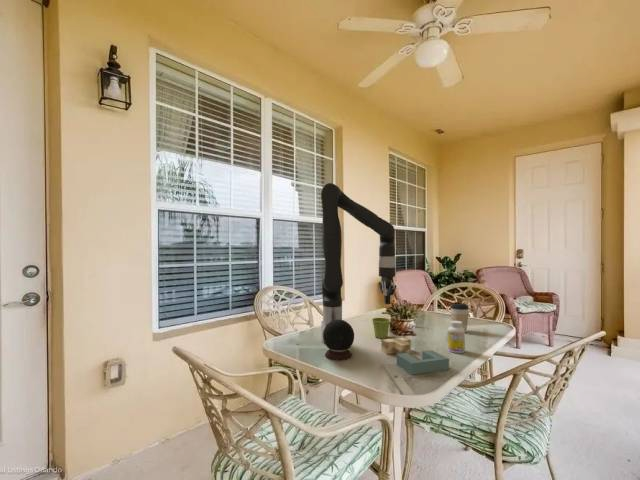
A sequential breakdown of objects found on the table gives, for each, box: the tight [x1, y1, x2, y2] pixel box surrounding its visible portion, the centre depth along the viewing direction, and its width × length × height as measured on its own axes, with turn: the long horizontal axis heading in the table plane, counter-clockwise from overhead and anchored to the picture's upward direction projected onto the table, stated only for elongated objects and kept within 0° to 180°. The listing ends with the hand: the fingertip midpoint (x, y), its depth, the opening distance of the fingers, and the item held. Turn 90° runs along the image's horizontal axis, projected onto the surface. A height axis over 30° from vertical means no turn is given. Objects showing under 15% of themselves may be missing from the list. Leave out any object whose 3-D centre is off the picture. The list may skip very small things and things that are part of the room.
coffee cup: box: [450, 301, 469, 333], centre depth 171 cm, size 9×9×15 cm
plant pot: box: [371, 317, 392, 340], centre depth 161 cm, size 9×9×9 cm
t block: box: [380, 336, 412, 355], centre depth 137 cm, size 12×10×5 cm
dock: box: [396, 349, 450, 376], centre depth 121 cm, size 16×10×4 cm, turn 107°
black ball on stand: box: [323, 319, 355, 362], centre depth 134 cm, size 13×13×15 cm
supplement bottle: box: [447, 320, 466, 354], centre depth 139 cm, size 7×7×13 cm
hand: (387, 303), depth 147 cm, fingers closed
